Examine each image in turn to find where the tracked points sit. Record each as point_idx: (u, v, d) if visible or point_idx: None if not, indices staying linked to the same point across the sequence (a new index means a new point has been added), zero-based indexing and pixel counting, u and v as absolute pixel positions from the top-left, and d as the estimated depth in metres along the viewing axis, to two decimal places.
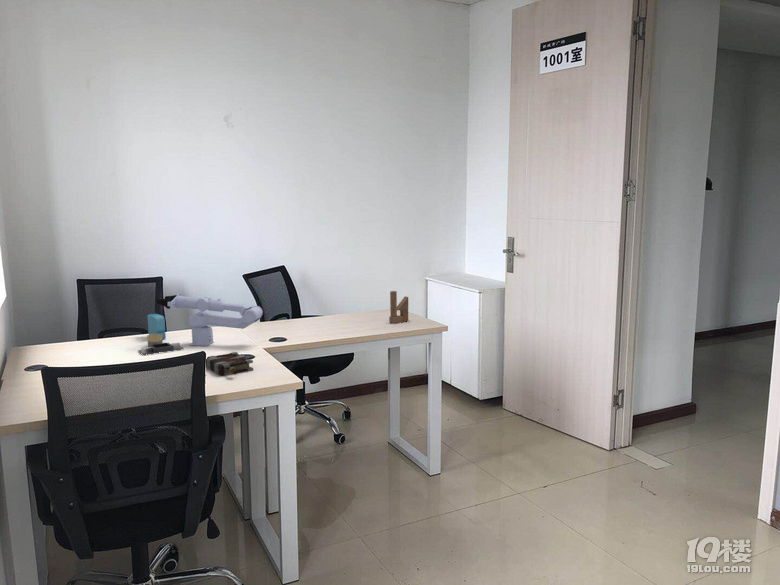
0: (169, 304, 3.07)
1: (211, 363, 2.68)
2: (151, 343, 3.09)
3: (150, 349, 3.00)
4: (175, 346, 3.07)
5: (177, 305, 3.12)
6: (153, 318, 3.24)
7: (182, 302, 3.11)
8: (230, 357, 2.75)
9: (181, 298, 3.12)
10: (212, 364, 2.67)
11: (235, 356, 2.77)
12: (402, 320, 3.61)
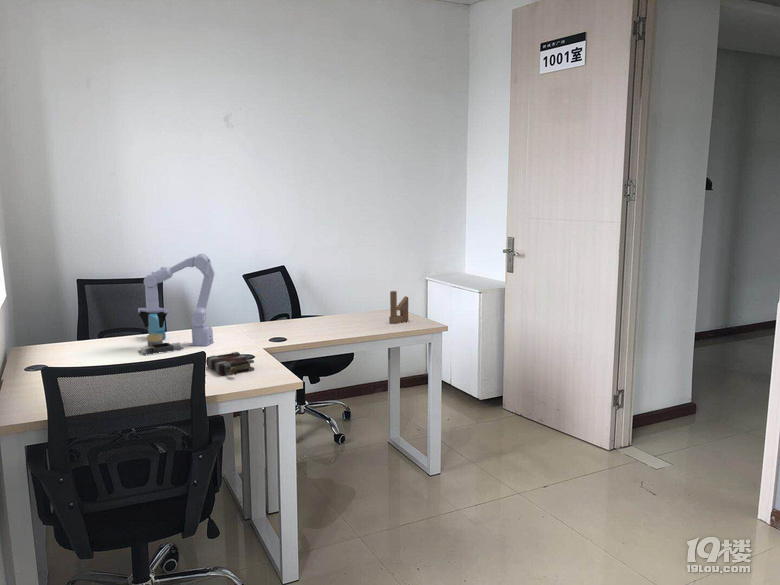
0: (166, 310, 3.08)
1: (212, 363, 2.69)
2: (151, 343, 3.09)
3: (150, 349, 3.00)
4: (175, 346, 3.07)
5: (158, 306, 3.10)
6: (153, 318, 3.24)
7: (157, 301, 3.08)
8: (231, 357, 2.75)
9: (153, 304, 3.06)
10: (213, 364, 2.68)
11: (236, 356, 2.77)
12: (402, 320, 3.61)
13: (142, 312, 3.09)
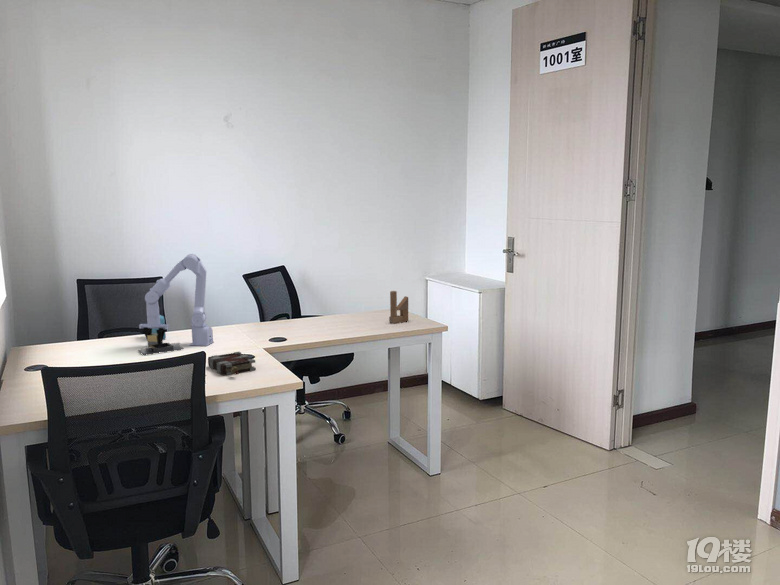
0: (168, 326, 3.09)
1: (214, 363, 2.69)
2: (151, 343, 3.09)
3: (150, 349, 3.00)
4: (175, 346, 3.07)
5: None
6: None
7: (158, 317, 3.09)
8: (233, 357, 2.76)
9: (154, 320, 3.08)
10: (215, 364, 2.68)
11: (238, 356, 2.77)
12: (402, 320, 3.61)
13: None
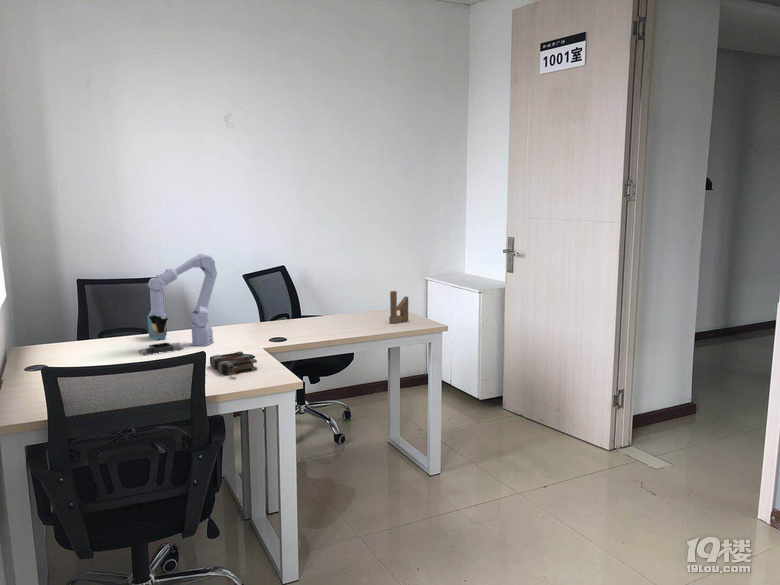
0: (164, 316, 2.97)
1: (215, 362, 2.69)
2: (153, 331, 3.02)
3: (150, 349, 3.00)
4: (175, 346, 3.07)
5: (162, 311, 3.01)
6: None
7: (158, 306, 2.99)
8: (235, 356, 2.76)
9: (154, 308, 2.99)
10: (216, 363, 2.68)
11: (240, 355, 2.77)
12: (402, 320, 3.61)
13: None
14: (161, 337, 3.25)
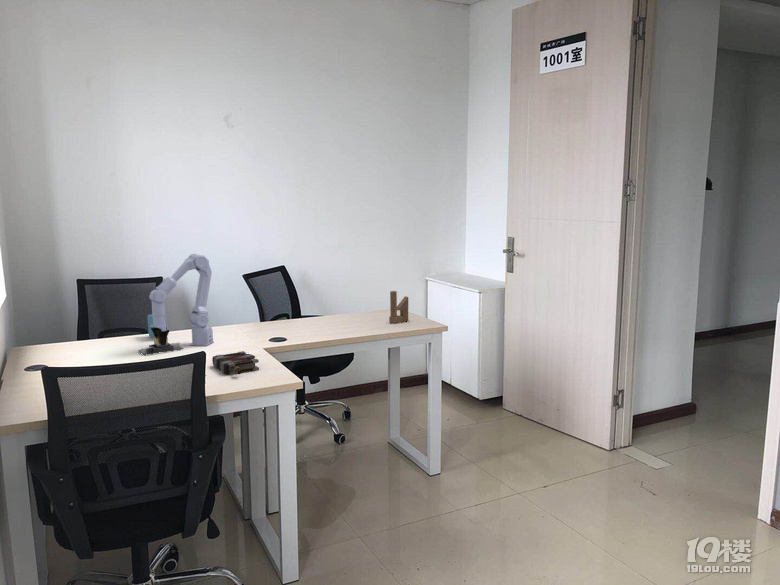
0: (164, 328, 2.96)
1: (218, 362, 2.70)
2: (155, 345, 3.03)
3: (150, 349, 3.00)
4: (175, 346, 3.07)
5: (163, 323, 3.01)
6: None
7: (159, 318, 2.99)
8: (237, 356, 2.76)
9: (155, 320, 2.99)
10: (218, 363, 2.69)
11: (242, 355, 2.78)
12: (402, 320, 3.61)
13: (155, 326, 3.06)
14: None
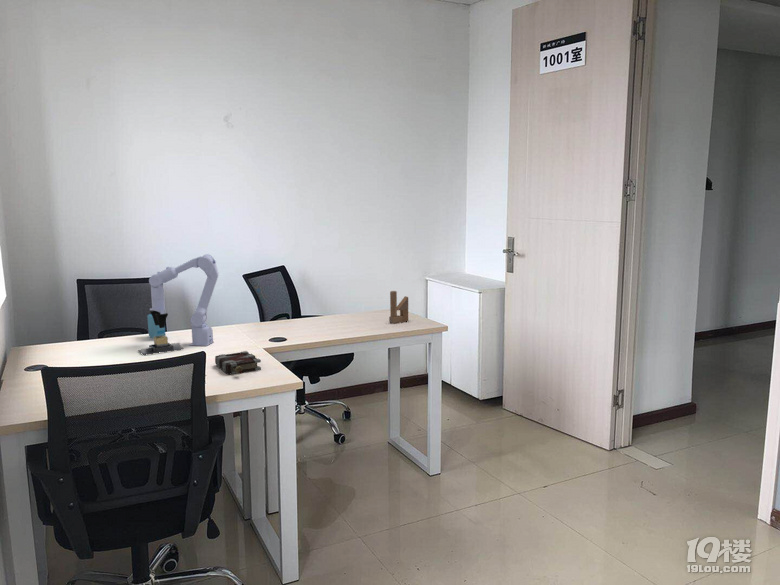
0: (163, 312, 3.05)
1: (220, 362, 2.70)
2: (155, 345, 3.03)
3: (150, 349, 3.00)
4: (175, 346, 3.07)
5: (162, 306, 3.10)
6: None
7: (158, 301, 3.08)
8: (240, 356, 2.77)
9: (154, 304, 3.08)
10: (221, 363, 2.69)
11: (245, 355, 2.78)
12: (402, 320, 3.61)
13: None
14: None
